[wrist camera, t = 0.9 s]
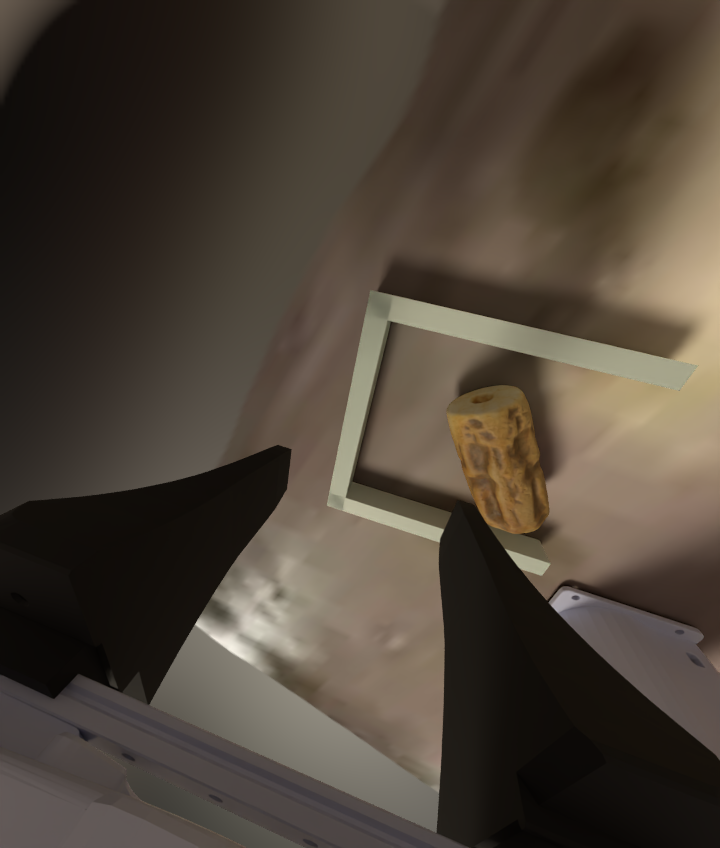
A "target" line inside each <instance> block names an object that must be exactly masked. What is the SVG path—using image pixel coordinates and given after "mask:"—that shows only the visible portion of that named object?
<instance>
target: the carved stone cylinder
mask: <svg viewBox="0 0 720 848" xmlns="http://www.w3.org/2000/svg"><path fill="white" fill-rule="evenodd" d="M447 418H448V423H449V427H450V431H451V435H452V438H453V441H454V444H455V447H456V450H457V453H458V456H459V458H460V459H461V464H462V469H463V472H464V475H465V477H466V480H467V483H468V486H469V489H470V491H471V494H472V496H473V498H474V500H475V503H476V505H477V507H478V509H479V511H480V513H481V515H482V516H483V518H484V520H485V521H486V523H487V524H488V525H490V526H492V527H495V528H499V529H501V530H504V531H507V532H509V533H512V534H521V533H528V532H532V531H535V530H537V529H538V528H539V527H540V526H541V525H542V523H543V522H544V520H545V519H546V518H547V517H548V515H549V502H548V495H547V490H546V484H545V479H544V474H543V471H542V469H541V467H540V463H539V458H540V451H539V448H538V445H537V441H536V439H535V431H534V426H533V420H532V415H531V411H530V407H529V404H528V401H527V399H526V397H525V395H524V393H523V392H522V391H521V390H520V389H519V388H517V387H515V386H508V385H497V386H490V387H485V388H481V389H477V390H474V391H471V392H469V393H466V394H464V395H462V396H460V397H458V398H456V399H455V400H454V401H452V402H451V403H450V404H449V406H448V408H447Z"/></svg>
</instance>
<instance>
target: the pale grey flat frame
mask: <svg viewBox="0 0 720 848" xmlns="http://www.w3.org/2000/svg"><path fill="white" fill-rule="evenodd" d="M391 321H392V322H397V323H401V324H405V325H409V326H413V327H417V328H421V329H426V330H430V331H434V332H438V333H442V334H446V335H450V336H455V337H459V338H463V339H467V340H471V341H475V342H479V343H484V344H488V345H492V346H496V347H500V348H504V349H508V350H513V351H517V352H521V353H525V354H529V355H533V356H537V357H542V358H546V359H550V360H554V361H558V362H562V363H566V364H571V365H575V366H579V367H583V368H587V369H591V370H595V371H599V372H604V373H608V374H612V375H616V376H620V377H624V378H628V379H633V380H637V381H641V382H645V383H649V384H653V385H657V386H662V387H666V388H670V389H674V390H678V391H680V389H681V388H682V387H683V385H684V384H685V383H686V381H687V380H688V379H689V377H690V376H691V375H692V373H693V372H694V371H695V369H696V368H697V365H693V364H689V363H684V362H680V361H676V360H671V359H667V358H663V357H658V356H654V355H650V354H645V353H641V352H637V351H632V350H628V349H624V348H619V347H615V346H611V345H606V344H602V343H598V342H593V341H589V340H585V339H580V338H576V337H572V336H567V335H563V334H559V333H554V332H550V331H546V330H541V329H537V328H533V327H528V326H524V325H520V324H515V323H511V322H507V321H502V320H498V319H494V318H489V317H485V316H481V315H476V314H472V313H468V312H463V311H459V310H455V309H450V308H446V307H442V306H437V305H433V304H429V303H424V302H420V301H416V300H411V299H407V298H403V297H398V296H394V295H390V294H385V293H381V292H377V291H372V290H370V295H369V300H368V305H367V310H366V315H365V320H364V324H363V329H362V334H361V339H360V344H359V349H358V354H357V359H356V364H355V369H354V374H353V379H352V384H351V389H350V393H349V398H348V403H347V408H346V413H345V418H344V423H343V428H342V433H341V438H340V443H339V448H338V453H337V458H336V463H335V467H334V472H333V477H332V482H331V487H330V492H329V497H328V502H327V506H330V507H333V508H336V509H339V510H342V511H345V512H348V513H351V514H354V515H357V516H360V517H363V518H366V519H369V520H372V521H376V522H379V523H382V524H385V525H388V526H391V527H394V528H397V529H400V530H403V531H406V532H409V533H412V534H415V535H418V536H421V537H425V538H428V539H431V540H434V541H437V542H440V537H441V535H442V533H443V531H444V529H445V527H446V525H447V522H448V520H449V518H450V516H451V514H452V513H451V512H448V511H444V510H441V509H438V508H435V507H432V506H428V505H425V504H422V503H419V502H416V501H412V500H409V499H406V498H403V497H400V496H396V495H393V494H390V493H387V492H384V491H380V490H377V489H374V488H371V487H368V486H364V485H361V484H358V483H355V482H352V481H353V477H354V473H355V468H356V464H357V460H358V456H359V452H360V448H361V444H362V440H363V435H364V431H365V427H366V423H367V419H368V415H369V411H370V407H371V402H372V398H373V394H374V390H375V386H376V382H377V378H378V374H379V370H380V365H381V361H382V357H383V353H384V349H385V345H386V341H387V337H388V332H389V328H390V324H391ZM488 526H489V527H490V529H491V530H492V532H493V533H494V535H495V536H496V537H497V539H498V540H499V542H500V543H501V544H502V546H503V547H504V549H505V550H506V551H507V553H508V554H509V555H510V557H511V558H512V559H513V561H514V562H515V563H516V565H517V566H518V567H519V568H520V569H523V570H526V571H529V572H532V573H535V574H538V575H541V576H542V575H543V574H544V572H545V571H546V570H547V568H548V567H549V566H550V564H551V563H550V561H549V559H548V557H547V555H546V553H545V551H544V549H543V547H542V544H541V542H540V540H537V539H534V538H531V537H527V536H524V535H521V534H512V533H509V532H507V531H504V530H501V529H499V528H495V527H492V526H490V525H488Z"/></svg>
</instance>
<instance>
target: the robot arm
mask: <svg viewBox="0 0 720 848" xmlns="http://www.w3.org/2000/svg"><path fill="white" fill-rule="evenodd" d="M291 450H292V449H289V448H286V447H283V446H279V445H277V446H274V447H271V448H268V449H266V450H263V451H261V452H258V453H256V454H254V455H251V456H249V457H246V458H244V459H241V460H239V461H236V462H233V463H231V464H228V465H225V466H222V467H219V468H216V469H214V470H211V471H208V472H205V473H202V474H198V475H195V476H191V477H188V478H184V479H180V480H176V481H172V482H168V483H163V484H158V485H154V486H148V487H144V488H138V489H134V490H128V491H121V492H114V493H107V494H99V495H92V496H83V497H72V498H61V499H49V500H37V501H28V502H26V503H24V504H22V505H20V506H18V507H16V508H14V509H12V510H10V511H8V512H6V513H4V514H2V515H0V848H246V847H244V846H242V845H240V844H238V843H236V842H234V841H232V840H230V839H228V838H226V837H224V836H222V835H219V834H217V833H215V832H213V831H211V830H208V829H206V828H204V827H202V826H200V825H197V824H195V823H193V822H190V821H188V820H186V819H183V818H182V817H179V816H177V815H175V814H172V813H170V812H167V811H165V810H163V809H160V808H158V807H155V806H153V805H150V804H148V803H145V802H143V801H141V800H140V799H139V798H138V797H137V796H136V794H135V793H134V792H133V791H132V790H131V788H130V786H129V784H128V782H127V780H126V775H127V770H126V768H124V767H123V766H121V765H120V764H118V763H117V762H115V761H114V760H112V759H111V758H110V757H108V756H107V755H105V754H104V753H102V752H101V751H99V750H102V751H104V752H106V753H108V754H110V755H112V756H114V757H116V758H118V759H121V760H122V761H125V762H127V763H129V764H131V765H133V766H135V767H137V768H139V769H142V770H143V771H146V772H148V773H150V774H152V775H154V776H156V777H158V778H160V779H162V780H165V781H167V782H169V783H171V784H173V785H175V786H177V787H179V788H181V789H183V790H185V791H188V792H190V793H192V794H194V795H196V796H198V797H200V798H202V799H204V800H207V801H209V802H211V803H213V804H215V805H217V806H219V807H221V808H223V809H225V810H227V811H230V812H232V813H234V814H236V815H238V816H240V817H242V818H244V819H246V820H248V821H251V822H253V823H255V824H257V825H259V826H261V827H263V828H265V829H267V830H269V831H272V832H274V833H276V834H278V835H280V836H282V837H284V838H286V839H288V840H291V841H293V842H295V843H297V844H299V845H301V846H303V847H305V848H720V673H719V672H718V671H717V670H716V668H715V667H714V666H713V665H712V663H711V662H710V661H709V660H708V658H707V657H706V656H705V655H704V653H703V652H702V651H701V650H700V648H699V647H698V646H697V645H696V644H697V643H698V642H700V641H701V640H702V639H703V638H704V635H703V634H702V633H701V632H700V631H699V629H697V628H694V627H691V626H688V625H685V624H682V623H679V622H676V621H673V620H670V619H667V618H664V617H661V616H658V615H655V614H651V613H648V612H645V611H642V610H639V609H636V608H633V607H630V606H627V605H624V604H621V603H618V602H615V601H612V600H609V599H606V598H603V597H600V596H596V595H593V594H590V593H587V592H584V591H581V590H578V589H575V588H572V587H568V586H563V587H561V588H560V589H559V590H558V591H557V593H556V594H555V595H554V596H553V597H552V599H551V600H550V601H549V602H548V601H547V600H546V599H545V598H544V597H543V596H542V595H541V594H540V593H539V591H538V590H537V589H536V588H535V587H534V586H533V584H532V583H531V582H530V581H529V580H528V578H527V577H526V576H525V575H524V573H523V572H522V571H521V570H520V568H519V567H518V566H517V565H516V563H515V562H514V561H513V559H512V558H511V557H510V555H509V554H508V553H507V551H506V550H505V549H504V547H503V546H502V544H501V543H500V542H499V540H498V539H497V537H496V536H495V535H494V533H493V532H492V530H491V529H490V527H489V526H488V524H487V523H486V521H485V520H484V519H483V517H482V516H481V514H480V513H479V511H478V510H477V509H476V507H475V506H474V505H472V504H469V503H465V502H462V501H459V500H458V501H457V503H456V505H455V507H454V509H453V512H452V514H451V516H450V518H449V520H448V522H447V525H446V527H445V529H444V531H443V533H442V535H441V537H440V548H439V573H440V586H441V598H442V609H443V621H444V638H445V669H444V712H443V735H442V758H441V775H440V790H439V806H438V821H437V833H435V832H433V831H431V830H429V829H426V828H424V827H422V826H420V825H417V824H415V823H413V822H411V821H408V820H406V819H404V818H401V817H399V816H397V815H395V814H393V813H390V812H388V811H386V810H384V809H381V808H379V807H377V806H374V805H372V804H370V803H368V802H366V801H363V800H361V799H359V798H357V797H354V796H352V795H350V794H347V793H345V792H343V791H341V790H339V789H336V788H334V787H332V786H329V785H327V784H325V783H323V782H321V781H318V780H316V779H314V778H312V777H309V776H307V775H305V774H303V773H300V772H298V771H296V770H294V769H291V768H289V767H287V766H285V765H282V764H280V763H278V762H276V761H273V760H271V759H269V758H266V757H264V756H262V755H260V754H258V753H255V752H253V751H251V750H249V749H246V748H244V747H242V746H240V745H237V744H235V743H233V742H230V741H228V740H226V739H224V738H222V737H219V736H217V735H215V734H212V733H210V732H208V731H206V730H204V729H201V728H199V727H197V726H195V725H192V724H190V723H188V722H186V721H183V720H181V719H179V718H177V717H174V716H172V715H170V714H168V713H165V712H163V711H161V710H158V709H156V708H154V707H152V706H150V705H149V704H150V702H151V700H152V699H153V697H154V695H155V693H156V691H157V689H158V688H159V686H160V684H161V682H162V681H163V679H164V677H165V675H166V673H167V672H168V670H169V668H170V666H171V664H172V663H173V661H174V659H175V657H176V656H177V654H178V652H179V650H180V648H181V647H182V645H183V644H184V642H185V640H186V638H187V637H188V635H189V633H190V632H191V630H192V628H193V627H194V625H195V623H196V621H197V620H198V618H199V616H200V615H201V613H202V612H203V610H204V608H205V607H206V605H207V603H208V602H209V600H210V599H211V597H212V595H213V594H214V592H215V590H216V589H217V587H218V586H219V584H220V583H221V581H222V580H223V578H224V576H225V575H226V573H227V572H228V570H229V569H230V567H231V566H232V564H233V563H234V561H235V560H236V559H237V557H238V556H239V554H240V553H241V552H242V551H243V549H244V548H245V547H246V546H247V544H248V543H249V542H250V540H251V539H252V538H253V537H254V535H255V534H256V533H257V532H258V530H259V529H260V528H261V527H262V525H263V524H264V523H265V521H266V520H267V519H268V518H269V516H270V515H271V514H272V512H273V511H274V510H275V508H276V507H277V505H278V503H279V502H280V500H281V498H282V497H283V495H284V493H285V491H286V490H287V484H288V475H289V467H290V458H291ZM96 748H97V749H96ZM98 749H99V750H98Z"/></svg>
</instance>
